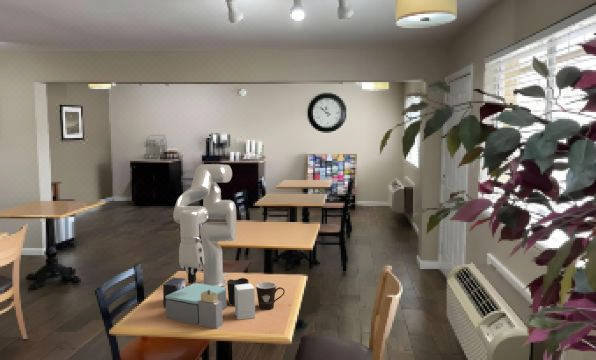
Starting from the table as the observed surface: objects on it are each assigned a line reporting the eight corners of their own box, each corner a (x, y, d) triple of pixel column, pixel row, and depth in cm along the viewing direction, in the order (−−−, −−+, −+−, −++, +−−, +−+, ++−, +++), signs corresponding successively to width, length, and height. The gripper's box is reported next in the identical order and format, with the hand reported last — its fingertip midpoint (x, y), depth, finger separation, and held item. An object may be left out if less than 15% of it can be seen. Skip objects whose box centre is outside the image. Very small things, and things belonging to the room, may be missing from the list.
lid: (195, 285, 221) (195, 282, 221) (226, 290, 214) (226, 287, 214) (165, 298, 203) (165, 295, 203) (197, 304, 196) (197, 301, 196)
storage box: (196, 302, 222) (195, 281, 221) (243, 311, 211) (243, 289, 210) (166, 318, 204) (165, 295, 203) (216, 328, 193) (215, 304, 192)
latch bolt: (205, 298, 199) (205, 288, 198) (217, 300, 196) (217, 290, 196) (200, 300, 196) (200, 290, 196) (213, 303, 193) (213, 292, 193)
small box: (176, 308, 215) (175, 285, 214) (162, 307, 217) (161, 284, 216) (186, 300, 226) (186, 277, 224) (173, 299, 227) (172, 277, 226)
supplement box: (255, 318, 204) (254, 288, 202) (237, 320, 202) (236, 290, 200) (252, 311, 211) (251, 282, 210) (234, 313, 209) (234, 284, 207)
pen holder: (234, 297, 228) (233, 276, 227) (252, 300, 225) (252, 278, 223) (223, 304, 219) (223, 283, 218) (242, 307, 216) (242, 285, 215)
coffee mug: (253, 309, 213) (252, 287, 212) (261, 303, 221) (261, 281, 220) (277, 313, 209) (277, 290, 208) (285, 306, 217) (285, 284, 216)
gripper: (210, 239, 204) (212, 282, 206) (181, 235, 210) (183, 277, 213) (199, 244, 197) (201, 288, 200) (169, 240, 204) (172, 282, 206)
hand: (192, 282), depth 206 cm, fingers closed
